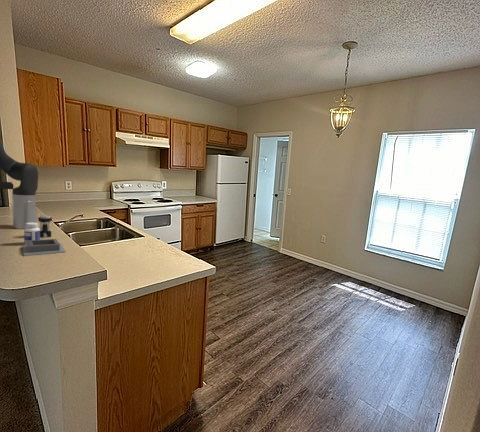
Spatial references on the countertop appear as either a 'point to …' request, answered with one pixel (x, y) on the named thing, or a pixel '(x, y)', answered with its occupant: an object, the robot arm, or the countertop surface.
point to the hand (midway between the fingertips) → (12, 185)
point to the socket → (42, 247)
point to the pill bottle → (31, 232)
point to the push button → (45, 226)
